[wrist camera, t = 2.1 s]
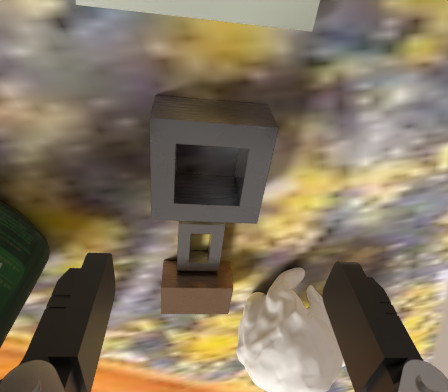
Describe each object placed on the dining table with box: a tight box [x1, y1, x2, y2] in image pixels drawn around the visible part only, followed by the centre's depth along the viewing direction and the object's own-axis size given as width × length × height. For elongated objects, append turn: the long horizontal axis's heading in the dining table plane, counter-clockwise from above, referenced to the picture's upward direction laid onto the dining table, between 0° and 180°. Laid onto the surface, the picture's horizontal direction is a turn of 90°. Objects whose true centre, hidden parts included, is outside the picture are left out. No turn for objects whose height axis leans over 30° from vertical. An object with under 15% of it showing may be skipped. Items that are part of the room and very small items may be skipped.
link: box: [149, 95, 278, 224], centre depth 18 cm, size 6×6×3 cm
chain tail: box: [161, 221, 233, 314], centre depth 23 cm, size 5×8×2 cm, turn 173°
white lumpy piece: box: [236, 267, 346, 392], centre depth 26 cm, size 6×8×12 cm
